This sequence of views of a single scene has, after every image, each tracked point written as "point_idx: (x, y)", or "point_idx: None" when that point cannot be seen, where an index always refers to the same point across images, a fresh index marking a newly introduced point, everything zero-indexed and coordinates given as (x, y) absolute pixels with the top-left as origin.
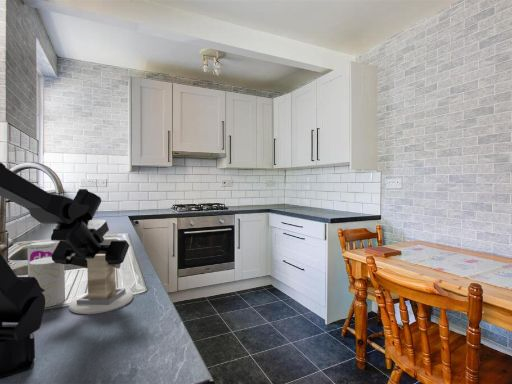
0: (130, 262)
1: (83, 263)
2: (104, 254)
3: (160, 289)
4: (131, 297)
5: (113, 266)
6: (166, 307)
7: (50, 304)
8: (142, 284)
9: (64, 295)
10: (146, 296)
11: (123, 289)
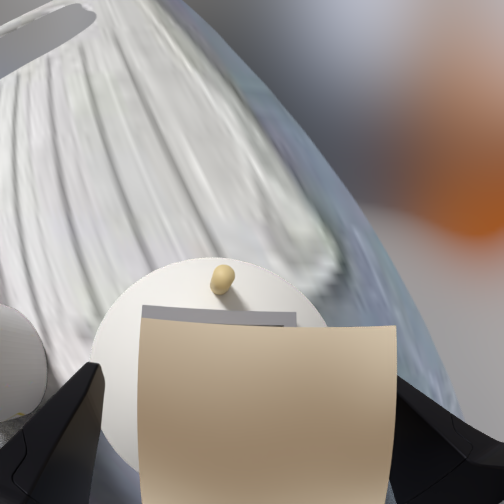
0: (150, 19)
1: (85, 453)
2: (362, 502)
3: (381, 247)
4: None
5: (392, 472)
6: (445, 393)
7: (31, 410)
8: (290, 188)
9: (36, 352)
10: (367, 318)
11: (293, 324)
